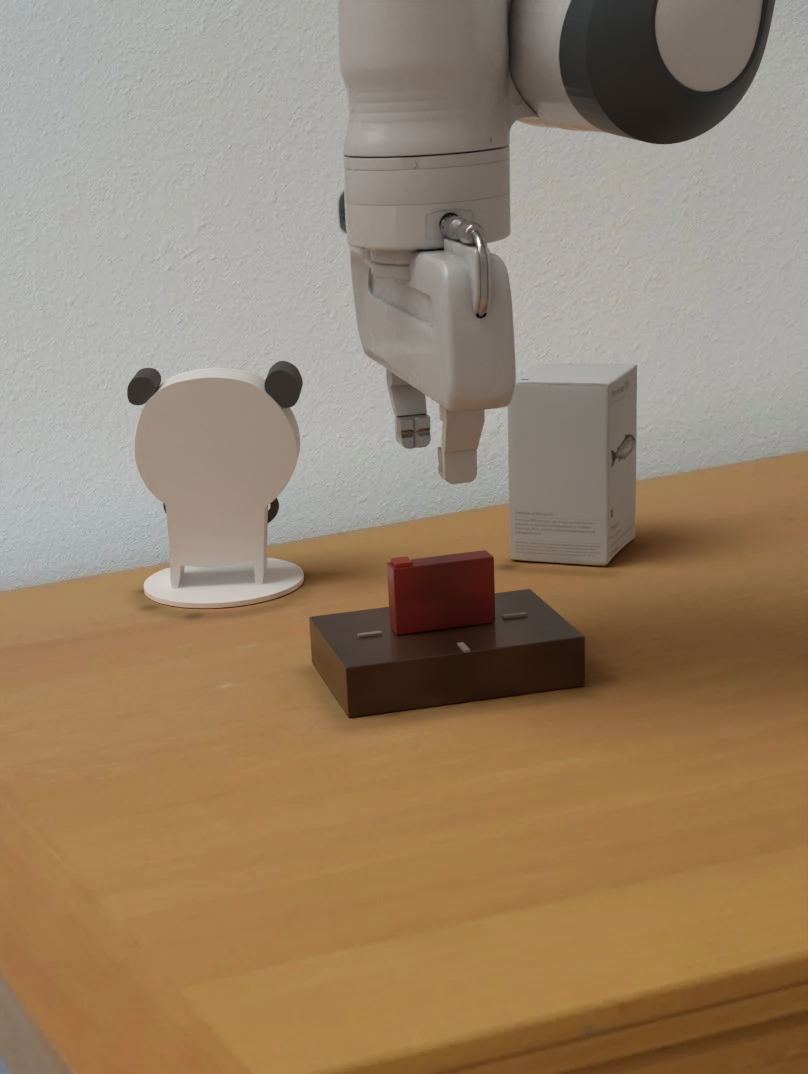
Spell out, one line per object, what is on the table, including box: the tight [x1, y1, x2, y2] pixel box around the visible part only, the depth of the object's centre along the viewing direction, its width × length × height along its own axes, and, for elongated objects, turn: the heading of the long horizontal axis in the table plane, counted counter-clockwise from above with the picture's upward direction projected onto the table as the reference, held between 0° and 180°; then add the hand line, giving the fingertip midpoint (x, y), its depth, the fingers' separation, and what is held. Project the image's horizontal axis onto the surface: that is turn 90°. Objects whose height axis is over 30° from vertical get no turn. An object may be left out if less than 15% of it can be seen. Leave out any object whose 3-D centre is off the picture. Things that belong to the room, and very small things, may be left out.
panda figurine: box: [126, 360, 305, 609], centre depth 126 cm, size 12×11×15 cm
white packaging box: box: [507, 363, 638, 567], centre depth 128 cm, size 7×7×13 cm
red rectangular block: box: [386, 549, 496, 635], centre depth 106 cm, size 6×2×4 cm, turn 101°
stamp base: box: [308, 588, 586, 718], centre depth 108 cm, size 14×10×3 cm
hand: (434, 462), depth 103 cm, fingers open, 8 cm apart
